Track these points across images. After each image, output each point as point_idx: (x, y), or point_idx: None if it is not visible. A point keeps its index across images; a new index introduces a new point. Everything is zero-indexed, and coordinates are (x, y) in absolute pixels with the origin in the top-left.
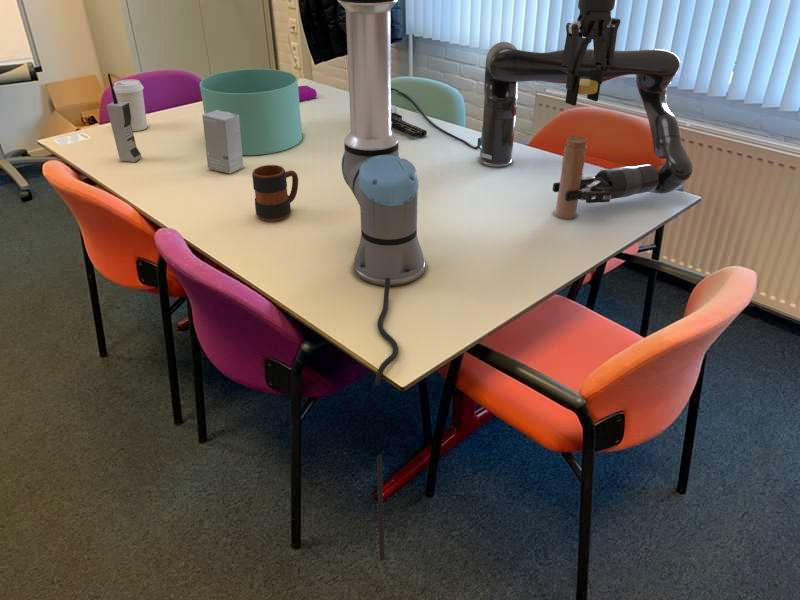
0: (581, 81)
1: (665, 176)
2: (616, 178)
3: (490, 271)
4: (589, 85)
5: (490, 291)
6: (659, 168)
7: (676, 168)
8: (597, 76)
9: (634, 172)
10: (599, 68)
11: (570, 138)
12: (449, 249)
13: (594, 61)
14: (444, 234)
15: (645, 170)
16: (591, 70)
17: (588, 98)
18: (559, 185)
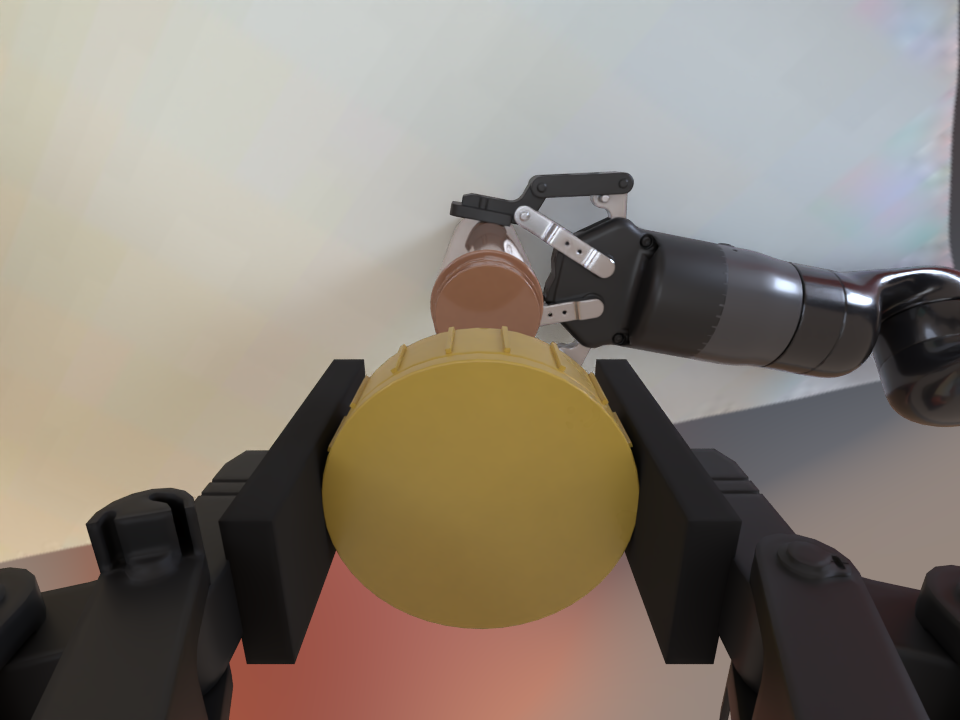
0: (470, 471)
1: (884, 360)
2: (656, 345)
3: (85, 401)
4: (429, 615)
5: (48, 469)
6: (929, 313)
7: (915, 406)
8: (648, 582)
9: (751, 353)
10: (733, 635)
11: (464, 289)
12: (15, 248)
13: (770, 629)
14: (30, 152)
15: (807, 357)
16: (681, 514)
17: (597, 377)
18: (450, 242)
